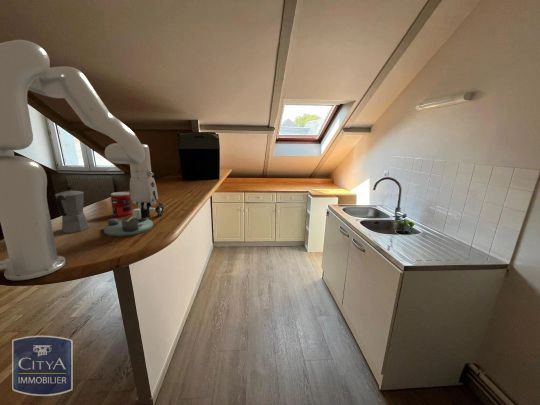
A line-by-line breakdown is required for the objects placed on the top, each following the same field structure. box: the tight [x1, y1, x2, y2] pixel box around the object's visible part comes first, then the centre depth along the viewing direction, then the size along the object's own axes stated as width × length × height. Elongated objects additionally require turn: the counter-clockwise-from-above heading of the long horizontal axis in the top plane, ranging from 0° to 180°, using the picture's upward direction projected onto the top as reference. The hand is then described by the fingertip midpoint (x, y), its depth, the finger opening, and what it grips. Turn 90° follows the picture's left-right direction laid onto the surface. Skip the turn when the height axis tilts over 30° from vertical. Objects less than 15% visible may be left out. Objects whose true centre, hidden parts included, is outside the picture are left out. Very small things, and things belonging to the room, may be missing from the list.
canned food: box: [110, 191, 133, 218], centre depth 121 cm, size 8×8×11 cm
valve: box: [136, 202, 165, 217], centre depth 121 cm, size 7×7×12 cm
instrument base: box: [103, 216, 154, 237], centre depth 103 cm, size 18×18×4 cm
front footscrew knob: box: [120, 208, 141, 232], centre depth 100 cm, size 13×6×6 cm, turn 11°
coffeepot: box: [54, 185, 90, 234], centre depth 98 cm, size 15×9×18 cm, turn 14°
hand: (145, 217), depth 105 cm, fingers closed
